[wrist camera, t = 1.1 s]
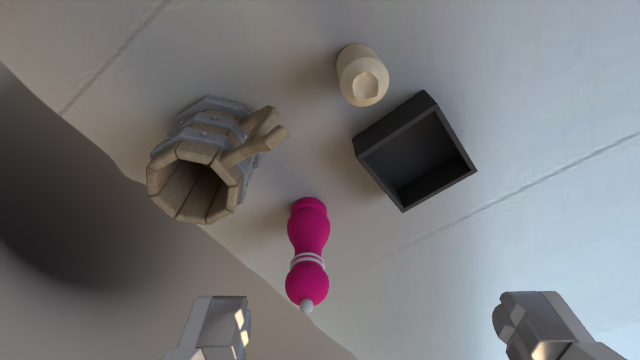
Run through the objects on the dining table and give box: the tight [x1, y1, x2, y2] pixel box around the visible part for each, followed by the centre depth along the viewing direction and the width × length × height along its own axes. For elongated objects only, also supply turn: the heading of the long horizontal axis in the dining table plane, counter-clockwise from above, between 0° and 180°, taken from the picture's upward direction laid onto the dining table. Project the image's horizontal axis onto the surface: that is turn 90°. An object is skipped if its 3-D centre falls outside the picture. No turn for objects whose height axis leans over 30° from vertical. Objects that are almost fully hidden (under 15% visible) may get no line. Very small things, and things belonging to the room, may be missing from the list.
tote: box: [352, 90, 477, 213], centre depth 46 cm, size 13×12×6 cm
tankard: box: [146, 96, 290, 225], centre depth 40 cm, size 20×13×15 cm, turn 120°
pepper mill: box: [285, 198, 330, 313], centre depth 47 cm, size 7×7×20 cm
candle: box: [336, 43, 389, 107], centre depth 38 cm, size 6×6×10 cm
